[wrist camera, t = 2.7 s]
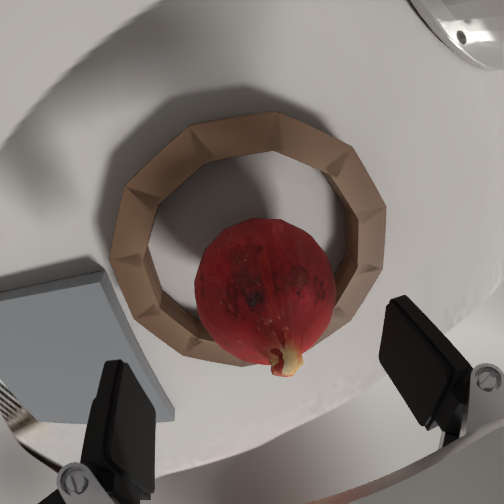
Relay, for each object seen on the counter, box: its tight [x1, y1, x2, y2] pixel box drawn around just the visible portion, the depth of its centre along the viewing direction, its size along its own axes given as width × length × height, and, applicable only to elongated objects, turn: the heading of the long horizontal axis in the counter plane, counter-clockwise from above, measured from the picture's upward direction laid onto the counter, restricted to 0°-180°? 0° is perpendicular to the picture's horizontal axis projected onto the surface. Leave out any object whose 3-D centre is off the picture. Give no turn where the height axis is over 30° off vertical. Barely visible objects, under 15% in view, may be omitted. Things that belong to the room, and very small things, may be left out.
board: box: [0, 270, 175, 424], centre depth 17 cm, size 14×13×1 cm
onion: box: [194, 218, 337, 377], centre depth 13 cm, size 6×6×8 cm
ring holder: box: [109, 111, 386, 367], centre depth 15 cm, size 14×14×2 cm
